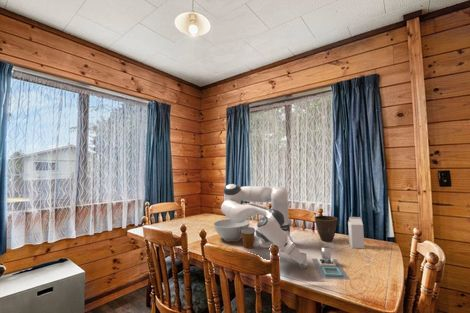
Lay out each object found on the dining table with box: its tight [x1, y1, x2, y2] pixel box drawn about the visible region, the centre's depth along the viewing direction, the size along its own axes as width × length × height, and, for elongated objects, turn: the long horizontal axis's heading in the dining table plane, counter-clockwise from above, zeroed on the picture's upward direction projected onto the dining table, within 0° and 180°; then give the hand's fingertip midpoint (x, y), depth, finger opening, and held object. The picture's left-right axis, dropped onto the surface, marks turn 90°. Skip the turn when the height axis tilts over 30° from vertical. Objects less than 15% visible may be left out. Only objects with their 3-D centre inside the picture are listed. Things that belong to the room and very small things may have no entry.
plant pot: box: [314, 215, 338, 243], centre depth 164 cm, size 15×15×16 cm
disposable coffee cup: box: [241, 226, 256, 249], centre depth 155 cm, size 10×10×12 cm
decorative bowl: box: [213, 218, 250, 242], centre depth 173 cm, size 27×27×12 cm
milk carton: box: [347, 216, 365, 249], centre depth 151 cm, size 7×7×19 cm
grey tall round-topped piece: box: [320, 246, 332, 264], centre depth 122 cm, size 4×4×8 cm
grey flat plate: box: [311, 258, 351, 283], centre depth 117 cm, size 13×23×2 cm, turn 171°
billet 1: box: [297, 252, 308, 270], centre depth 119 cm, size 4×4×8 cm
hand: (303, 260), depth 119 cm, fingers open, 8 cm apart
